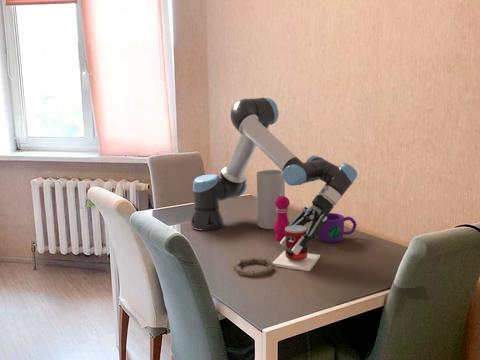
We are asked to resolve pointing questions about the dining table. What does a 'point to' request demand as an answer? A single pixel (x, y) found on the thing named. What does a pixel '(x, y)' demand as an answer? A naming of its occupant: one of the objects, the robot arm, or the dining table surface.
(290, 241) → the canned food
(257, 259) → the wooden polygonal ring
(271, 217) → the cylinder vase
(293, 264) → the coaster
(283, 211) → the pepper mill
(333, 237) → the mug
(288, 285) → the dining table surface
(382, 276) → the dining table surface
